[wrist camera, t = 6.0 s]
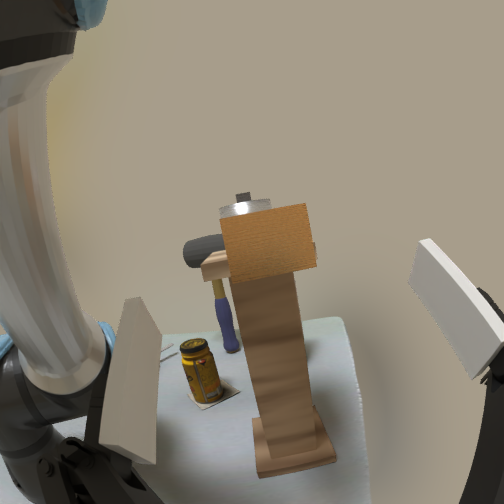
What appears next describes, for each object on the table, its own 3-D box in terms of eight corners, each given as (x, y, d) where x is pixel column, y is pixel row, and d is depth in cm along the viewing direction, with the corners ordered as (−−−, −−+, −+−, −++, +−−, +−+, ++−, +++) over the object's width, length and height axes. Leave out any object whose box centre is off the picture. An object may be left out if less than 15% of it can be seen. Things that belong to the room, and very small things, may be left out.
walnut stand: (336, 461, 27) (314, 242, 24) (259, 478, 26) (200, 264, 24) (315, 411, 39) (289, 237, 36) (253, 424, 38) (212, 252, 36)
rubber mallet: (260, 344, 70) (237, 229, 67) (249, 358, 63) (223, 232, 60) (218, 344, 75) (194, 238, 72) (205, 356, 68) (177, 241, 65)
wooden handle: (336, 262, 13) (311, 135, 12) (210, 288, 13) (186, 156, 12) (274, 240, 36) (265, 192, 35) (228, 249, 36) (218, 201, 35)
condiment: (187, 395, 50) (170, 343, 49) (222, 380, 55) (208, 330, 54) (202, 410, 44) (184, 355, 43) (240, 392, 49) (227, 338, 48)
